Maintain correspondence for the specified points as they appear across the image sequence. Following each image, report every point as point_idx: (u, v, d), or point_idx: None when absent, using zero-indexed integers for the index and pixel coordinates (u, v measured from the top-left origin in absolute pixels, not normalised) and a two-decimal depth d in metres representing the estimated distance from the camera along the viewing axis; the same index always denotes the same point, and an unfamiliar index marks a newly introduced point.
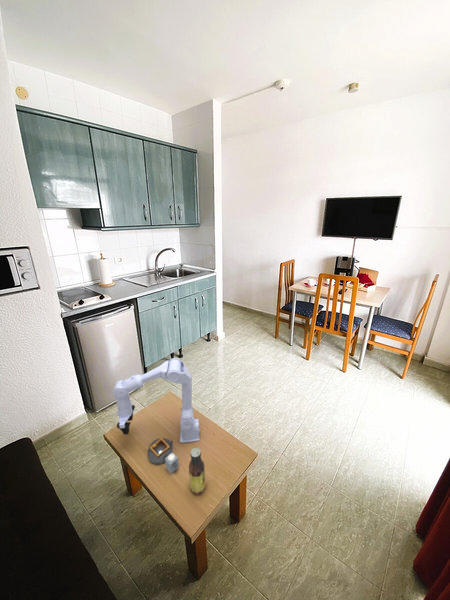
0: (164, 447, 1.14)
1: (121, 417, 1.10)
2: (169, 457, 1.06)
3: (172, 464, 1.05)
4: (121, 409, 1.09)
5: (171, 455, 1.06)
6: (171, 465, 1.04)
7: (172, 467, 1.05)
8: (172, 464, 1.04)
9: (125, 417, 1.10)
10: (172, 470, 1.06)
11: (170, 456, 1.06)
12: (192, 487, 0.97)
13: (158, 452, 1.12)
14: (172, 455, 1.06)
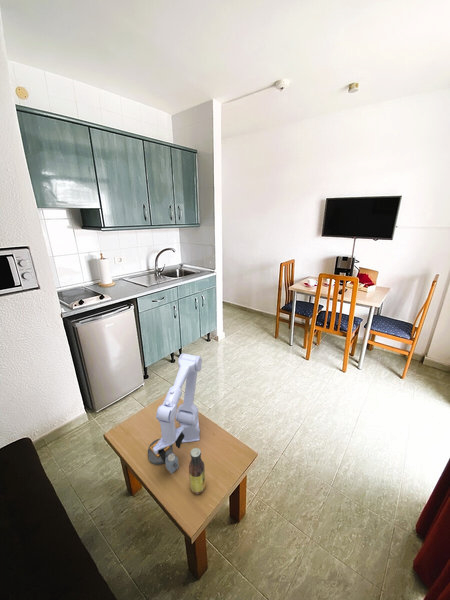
0: None
1: (161, 440, 1.00)
2: (169, 457, 1.06)
3: (172, 464, 1.05)
4: (161, 433, 0.98)
5: (171, 455, 1.06)
6: (171, 465, 1.04)
7: (172, 467, 1.05)
8: (172, 464, 1.04)
9: (163, 443, 0.99)
10: (172, 470, 1.06)
11: (170, 456, 1.06)
12: (192, 487, 0.97)
13: None
14: (172, 455, 1.06)
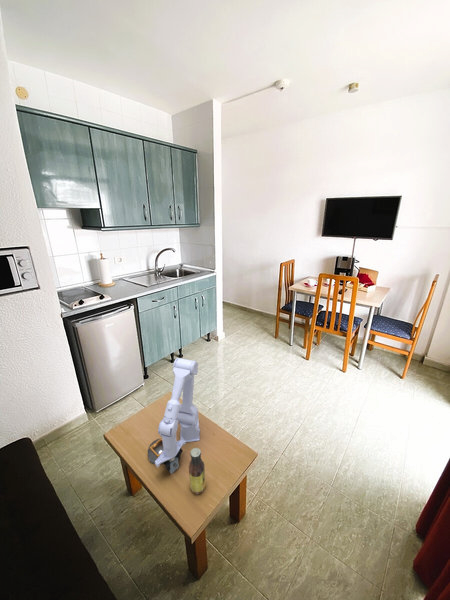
0: None
1: (163, 453, 1.03)
2: None
3: (172, 464, 1.05)
4: (163, 447, 1.01)
5: None
6: (171, 465, 1.04)
7: (172, 467, 1.05)
8: (172, 464, 1.04)
9: (165, 457, 1.02)
10: (172, 470, 1.06)
11: None
12: (192, 487, 0.97)
13: (158, 452, 1.12)
14: None
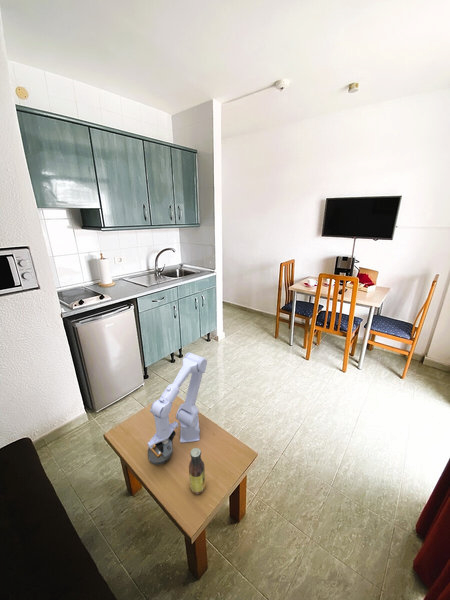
0: None
1: (156, 435, 1.03)
2: (163, 440, 1.06)
3: (166, 447, 1.05)
4: (156, 428, 1.01)
5: None
6: (165, 448, 1.04)
7: (166, 450, 1.05)
8: (165, 447, 1.05)
9: (158, 438, 1.02)
10: (166, 453, 1.06)
11: None
12: (192, 487, 0.97)
13: (158, 452, 1.12)
14: None
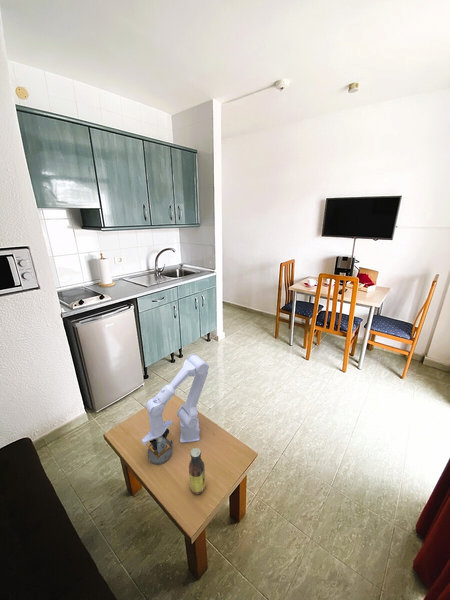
0: None
1: (150, 433, 1.08)
2: (157, 438, 1.10)
3: (160, 444, 1.09)
4: (150, 426, 1.06)
5: None
6: (159, 445, 1.09)
7: (160, 447, 1.10)
8: (159, 445, 1.09)
9: (152, 435, 1.07)
10: (160, 450, 1.10)
11: (158, 437, 1.10)
12: (192, 487, 0.97)
13: None
14: (160, 436, 1.11)
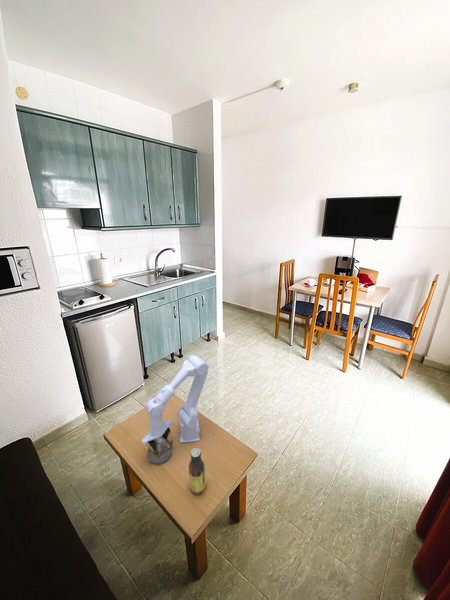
0: None
1: (150, 433, 1.08)
2: (157, 439, 1.10)
3: (160, 445, 1.09)
4: (150, 426, 1.06)
5: (159, 437, 1.11)
6: (159, 446, 1.09)
7: (160, 448, 1.10)
8: (159, 445, 1.09)
9: (152, 436, 1.07)
10: (160, 451, 1.10)
11: (158, 438, 1.11)
12: (192, 487, 0.97)
13: None
14: (160, 437, 1.11)
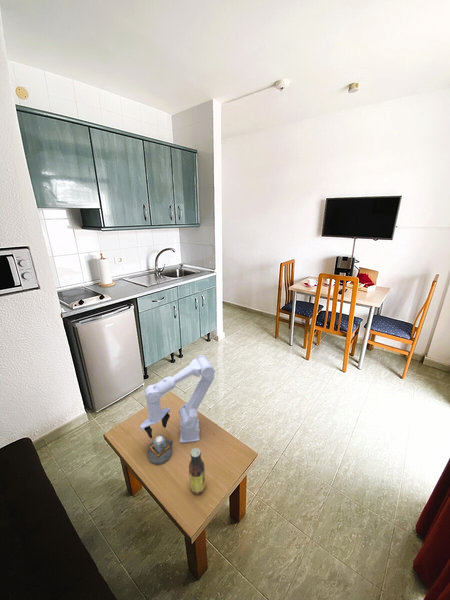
0: None
1: (148, 419, 1.10)
2: (157, 439, 1.10)
3: (160, 445, 1.09)
4: (148, 412, 1.08)
5: (159, 437, 1.11)
6: (159, 446, 1.09)
7: (160, 448, 1.10)
8: (159, 445, 1.09)
9: (150, 422, 1.09)
10: (160, 451, 1.10)
11: (158, 438, 1.11)
12: (192, 487, 0.97)
13: None
14: (160, 437, 1.11)
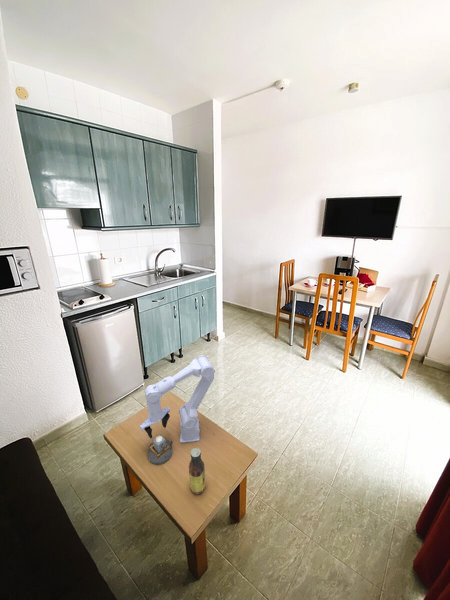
0: None
1: (148, 419, 1.10)
2: (157, 439, 1.10)
3: (160, 445, 1.09)
4: (148, 412, 1.08)
5: (159, 437, 1.11)
6: (159, 446, 1.09)
7: (160, 448, 1.10)
8: (159, 445, 1.09)
9: (150, 422, 1.09)
10: (160, 451, 1.10)
11: (158, 438, 1.11)
12: (192, 487, 0.97)
13: None
14: (160, 437, 1.11)
